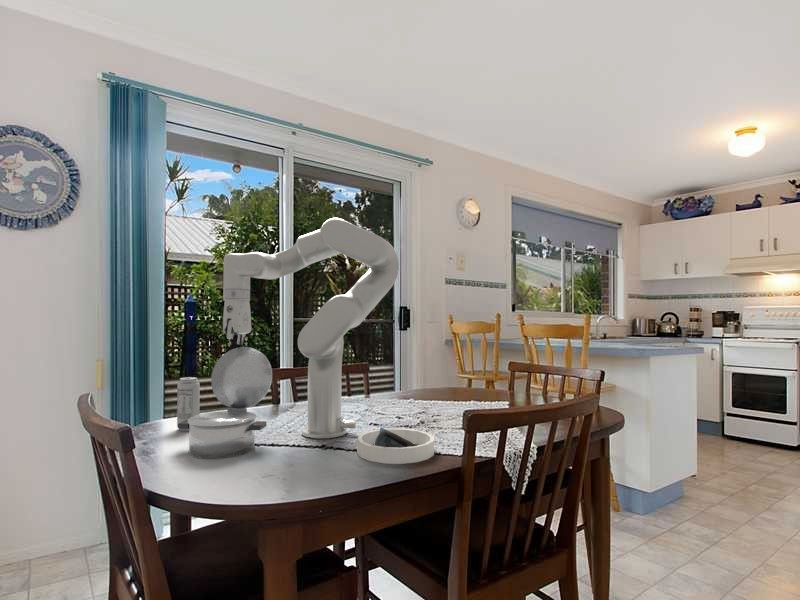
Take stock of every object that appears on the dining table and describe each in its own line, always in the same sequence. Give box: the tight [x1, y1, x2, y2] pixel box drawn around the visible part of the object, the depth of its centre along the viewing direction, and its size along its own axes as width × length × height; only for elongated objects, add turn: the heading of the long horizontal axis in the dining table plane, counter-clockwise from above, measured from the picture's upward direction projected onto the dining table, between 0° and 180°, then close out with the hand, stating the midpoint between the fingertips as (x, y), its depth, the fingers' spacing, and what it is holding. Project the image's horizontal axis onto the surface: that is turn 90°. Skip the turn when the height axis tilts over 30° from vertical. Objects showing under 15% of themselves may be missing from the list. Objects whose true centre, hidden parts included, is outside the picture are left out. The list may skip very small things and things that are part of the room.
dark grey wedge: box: [375, 427, 417, 448], centre depth 122 cm, size 10×7×12 cm
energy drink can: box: [176, 376, 201, 432], centre depth 147 cm, size 6×6×15 cm
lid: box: [210, 346, 273, 412], centre depth 139 cm, size 17×18×4 cm
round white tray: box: [356, 427, 435, 465], centre depth 124 cm, size 19×19×4 cm
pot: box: [177, 410, 267, 460], centre depth 127 cm, size 21×18×8 cm
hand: (236, 357), depth 147 cm, fingers closed
